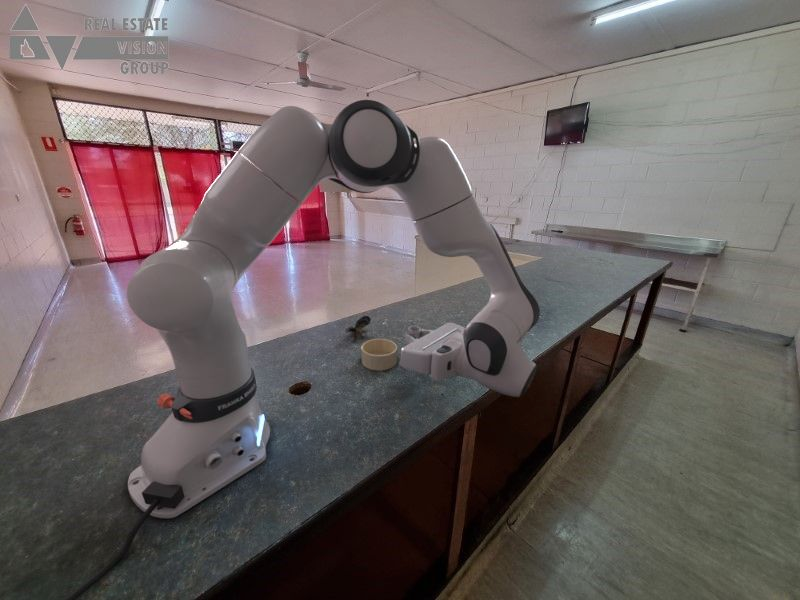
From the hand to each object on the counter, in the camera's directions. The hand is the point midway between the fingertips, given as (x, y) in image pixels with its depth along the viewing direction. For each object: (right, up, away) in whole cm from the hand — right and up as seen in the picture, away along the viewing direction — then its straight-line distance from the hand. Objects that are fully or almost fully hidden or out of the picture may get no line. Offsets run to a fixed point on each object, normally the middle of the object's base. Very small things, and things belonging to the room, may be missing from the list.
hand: (411, 334), depth 79 cm
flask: (+1, -8, +2) cm, 8 cm away
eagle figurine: (-16, -4, +25) cm, 30 cm away
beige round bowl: (-9, -9, +11) cm, 17 cm away
